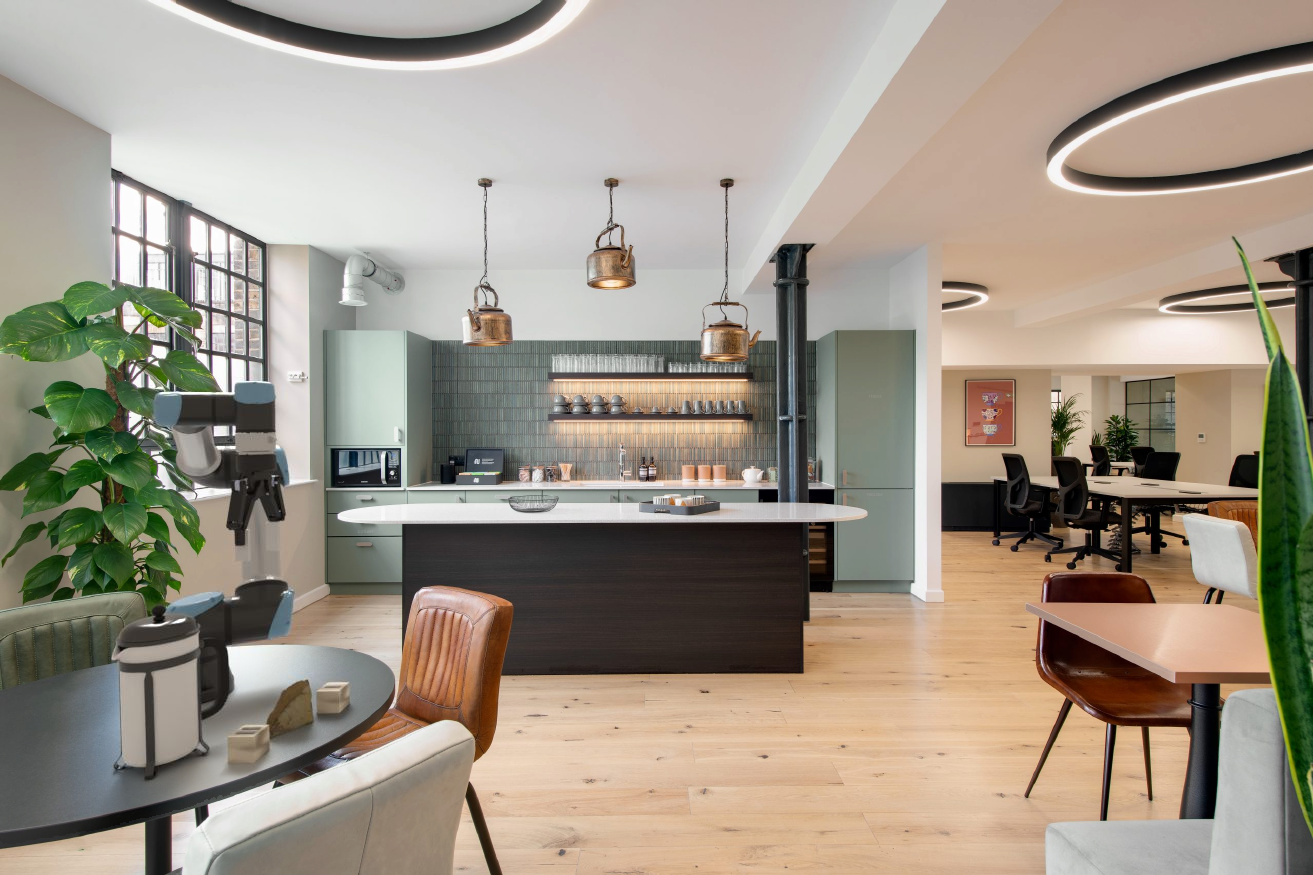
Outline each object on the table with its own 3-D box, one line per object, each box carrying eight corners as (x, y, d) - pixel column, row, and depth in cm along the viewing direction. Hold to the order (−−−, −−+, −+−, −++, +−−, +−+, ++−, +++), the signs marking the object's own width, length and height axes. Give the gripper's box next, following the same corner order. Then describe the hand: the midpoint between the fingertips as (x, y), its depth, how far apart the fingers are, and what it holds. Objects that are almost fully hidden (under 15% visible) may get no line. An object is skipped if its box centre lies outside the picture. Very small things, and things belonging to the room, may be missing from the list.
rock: (261, 735, 130) (316, 716, 135) (254, 693, 133) (308, 676, 139) (265, 748, 138) (317, 729, 143) (258, 709, 141) (310, 692, 147)
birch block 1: (244, 750, 129) (243, 724, 128) (269, 749, 129) (269, 724, 129) (227, 763, 124) (227, 736, 124) (254, 762, 124) (253, 736, 124)
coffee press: (199, 773, 120) (195, 611, 119) (94, 788, 115) (90, 619, 115) (231, 731, 136) (228, 588, 136) (141, 742, 132) (137, 595, 131)
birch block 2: (327, 704, 150) (327, 681, 150) (349, 703, 150) (349, 681, 150) (316, 713, 145) (316, 690, 145) (339, 713, 145) (338, 690, 145)
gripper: (240, 455, 130) (243, 566, 130) (301, 450, 152) (304, 545, 153) (202, 455, 130) (205, 567, 130) (269, 451, 152) (271, 546, 153)
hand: (258, 555), depth 141 cm, fingers open, 10 cm apart
